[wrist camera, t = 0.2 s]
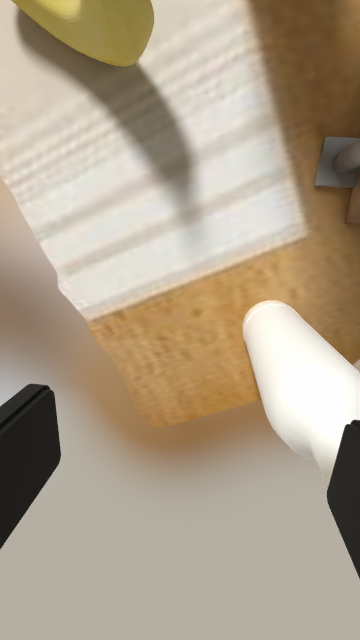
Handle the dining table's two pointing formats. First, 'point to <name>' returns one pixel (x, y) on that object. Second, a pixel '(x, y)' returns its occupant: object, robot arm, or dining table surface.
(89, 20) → the banana
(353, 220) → the cradle
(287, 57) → the dining table surface
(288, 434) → the bottle
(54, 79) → the dining table surface
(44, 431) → the robot arm
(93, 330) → the dining table surface
